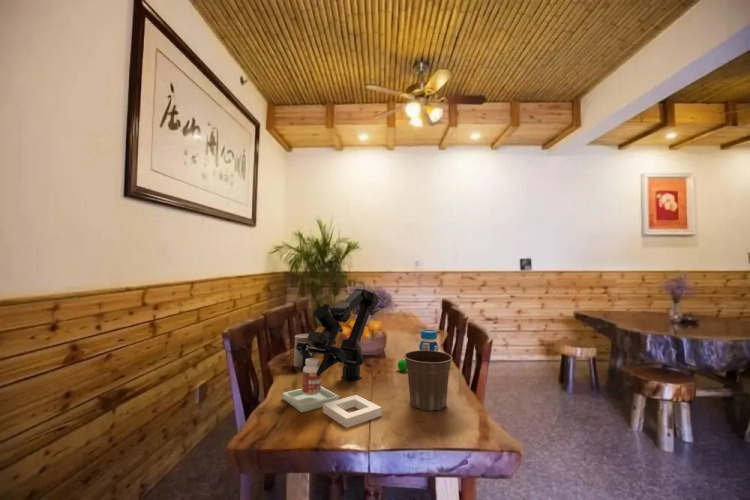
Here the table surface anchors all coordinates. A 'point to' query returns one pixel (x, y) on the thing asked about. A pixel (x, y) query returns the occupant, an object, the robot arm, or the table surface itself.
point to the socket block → (349, 419)
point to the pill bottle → (311, 377)
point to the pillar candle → (297, 356)
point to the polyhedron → (402, 365)
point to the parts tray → (309, 399)
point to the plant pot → (428, 378)
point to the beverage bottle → (428, 340)
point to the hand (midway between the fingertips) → (309, 373)
